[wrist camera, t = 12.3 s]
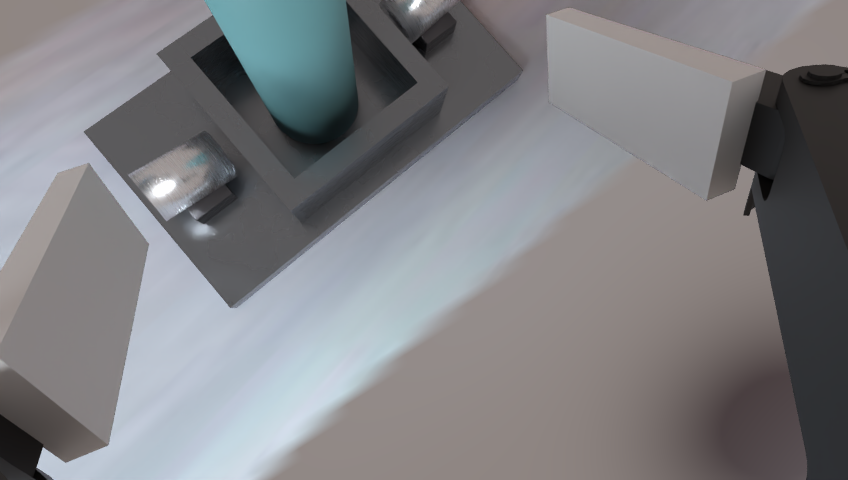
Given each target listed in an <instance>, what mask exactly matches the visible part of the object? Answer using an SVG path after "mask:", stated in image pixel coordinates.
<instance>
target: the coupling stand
mask: <svg viewBox="0 0 848 480" xmlns="http://www.w3.org/2000/svg"><path fill="white" fill-rule="evenodd" d="M346 6H347V14H348V22H349V30H350V38H351V46H352V54H353V62H354V69H355V77H356V85H357V93H358V111H357V114H356V117H355V120H354V122H353V123H352V125H351V126H350V127H349V129H348V130H347V131H346V132H345V133H344V134H342V135H341V136H339V137H338V138H336V139H334V140H332V141H329V142H326V143H321V144H308V143H302V142H299V141H296V140H294V139H292V138H290V137H289V136H287V135H286V134H285V133H283V132H282V131H281V130H280V129H279V127H278V126H277V125H276V123H275V122H274V120H273V118H272V116H271V115H270V113H269V111H268V109H267V108H266V106H265V104H264V103H263V101H262V99H261V97H260V96H259V94H258V92H257V90H256V89H255V87H254V85H253V83H252V82H251V80H250V78H249V77H248V75H247V73H246V71H245V70H244V68H243V66H242V64H241V63H240V61H239V59H238V57H237V56H236V54H235V52H234V51H233V49H232V47H231V45H230V44H229V42H228V40H227V38H226V37H225V35H224V33H223V31H222V30H221V28H220V26H219V25H218V23H217V21H216V19H215V18H214V16H213V15H212V16H211V17H210V18H208V19H207V20H205V21H204V22H202V23H201V24H199V25H198V26H196V27H195V28H193V29H192V30H191V31H189V32H188V33H186V34H185V35H183V36H182V37H180V38H179V39H177V40H176V41H174V42H173V43H171V44H170V45H169V46H167V47H166V48H164V49H163V50H161V51H160V52H158V53H157V55H158V56H159V57H160V58H161V60H162V61H163V62H164V63H165V64H166V65H167V67H168V68H169V69H170V70H171V71H170V72H169V73H168V74H166V75H165V76H163V77H162V78H160V79H159V80H157V81H156V82H155V83H153V84H152V85H150V86H149V87H147V88H146V89H145V90H143V91H142V92H140V93H139V94H137V95H136V96H134V97H133V98H132V99H130V100H129V101H127V102H126V103H124V104H123V105H121V106H120V107H119V108H117V109H116V110H114V111H113V112H111V113H110V114H109V115H107V116H106V117H104V118H103V119H101V120H100V121H98V122H97V123H96V124H94V125H93V126H91V127H90V128H88V129H87V130H85V131H84V133H85V134H86V135H87V136H88V138H89V139H90V140H91V141H92V142H93V144H94V145H95V146H96V147H97V148H98V150H99V151H100V152H101V153H102V154H103V156H104V157H105V158H106V159H107V160H108V162H109V163H110V164H111V165H112V166H113V168H114V169H115V170H116V171H117V172H118V174H119V175H120V176H121V177H122V178H123V180H124V181H125V182H126V183H127V184H128V186H129V187H130V188H131V189H132V190H133V192H134V193H135V194H136V195H137V196H138V198H139V199H140V200H141V201H142V202H143V204H144V205H145V206H146V207H147V208H148V210H149V211H150V212H151V213H152V214H153V216H154V217H155V218H156V219H157V220H158V222H159V223H160V224H161V225H162V226H163V228H164V229H165V230H166V231H167V232H168V234H169V235H170V236H171V237H172V238H173V240H174V241H175V242H176V243H177V244H178V246H179V247H180V248H181V249H182V250H183V251H184V253H185V254H186V255H187V256H188V257H189V259H190V260H191V261H192V262H193V263H194V265H195V266H196V267H197V268H198V269H199V271H200V272H201V273H202V274H203V275H204V277H205V278H206V279H207V280H208V281H209V283H210V284H211V285H212V286H213V287H214V289H215V290H216V291H217V292H218V293H219V295H220V296H221V297H222V298H223V299H224V301H225V302H226V303H227V304H228V305H229V307H230V308H237V307H238V306H239V305H241V304H242V303H243V302H244V301H246V300H247V299H248V298H249V297H251V296H252V295H253V294H254V293H255V292H257V291H258V290H259V289H260V288H262V287H263V286H264V285H265V284H267V283H268V282H269V281H270V280H271V279H273V278H274V277H275V276H276V275H278V274H279V273H280V272H281V271H283V270H284V269H285V268H286V267H287V266H289V265H290V264H291V263H292V262H294V261H295V260H296V259H297V258H299V257H300V256H301V255H302V254H303V253H305V252H306V251H307V250H308V249H310V248H311V247H312V246H313V245H315V244H316V243H317V242H318V241H319V240H321V239H322V238H323V237H324V236H326V235H327V234H328V233H329V232H331V231H332V230H333V229H334V228H335V227H337V226H338V225H339V224H340V223H342V222H343V221H344V220H345V219H346V218H348V217H349V216H350V215H351V214H353V213H354V212H355V211H356V210H358V209H359V208H360V207H361V206H362V205H364V204H365V203H366V202H367V201H369V200H370V199H371V198H372V197H374V196H375V195H376V194H377V193H378V192H380V191H381V190H382V189H383V188H385V187H386V186H387V185H388V184H390V183H391V182H392V181H393V180H394V179H396V178H397V177H398V176H399V175H401V174H402V173H403V172H404V171H406V170H407V169H408V168H409V167H410V166H412V165H413V164H414V163H415V162H417V161H418V160H419V159H420V158H422V157H423V156H424V155H425V154H426V153H428V152H429V151H430V150H431V149H433V148H434V147H435V146H436V145H438V144H439V143H440V142H441V141H442V140H444V139H445V138H446V137H447V136H449V135H450V134H451V133H452V132H454V131H455V130H456V129H457V128H458V127H460V126H461V125H462V124H463V123H465V122H466V121H467V120H468V119H469V118H471V117H472V116H473V115H474V114H476V113H477V112H478V111H479V110H481V109H482V108H483V107H484V106H485V105H487V104H488V103H489V102H490V101H492V100H493V99H494V98H495V97H497V96H498V95H499V94H500V93H501V92H503V91H504V90H505V89H506V88H508V87H509V86H510V85H511V84H513V83H514V82H515V81H516V80H517V79H518V78H519V76H520V74H521V73H522V71H523V70H522V69H521V68H520V67H519V66H518V65H517V64H516V63H515V61H514V60H513V59H512V58H511V57H510V56H509V55H508V54H507V52H506V51H505V50H504V49H503V48H502V47H501V46H500V45H499V44H498V42H497V41H496V40H495V39H494V38H493V37H492V36H491V35H490V33H489V32H488V31H487V30H486V29H485V28H484V27H483V26H482V25H481V23H480V22H479V21H478V20H477V19H476V18H475V17H474V16H473V14H472V13H471V12H470V11H469V10H468V9H467V8H466V7H465V6H464V4H463V3H462V2H461V1H460V0H346Z"/></svg>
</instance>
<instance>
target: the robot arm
mask: <svg viewBox="0 0 848 480" xmlns="http://www.w3.org/2000/svg"><path fill="white" fill-rule="evenodd" d="M546 28H547V60H548V92H549V103H551V104H552V105H554V106H555V107H557V108H559V109H560V110H562V111H563V112H565V113H567V114H568V115H570V116H571V117H573V118H575V119H576V120H578V121H579V122H581V123H583V124H584V125H586V126H587V127H589V128H591V129H592V130H594V131H595V132H597V133H599V134H600V135H602V136H603V137H605V138H607V139H608V140H610V141H611V142H613V143H615V144H616V145H618V146H619V147H621V148H623V149H624V150H626V151H627V152H629V153H631V154H632V155H634V156H636V157H637V158H639V159H640V160H642V161H644V162H645V163H647V164H648V165H650V166H652V167H653V168H655V169H656V170H658V171H660V172H661V173H663V174H664V175H666V176H668V177H669V178H671V179H672V180H674V181H676V182H678V183H679V184H680V185H682V186H684V187H685V188H687V189H688V190H690V191H692V192H693V193H695V194H697V195H698V196H700V197H701V198H703V199H704V200H709V199H712V198H714V197H717V196H719V195H722V194H724V193H726V192H729V191H731V190H734V189H735V186H736V183H737V179H738V175H739V171H740V167H741V165H743V166H745V167H747V168H749V169H751V170H753V171H755V175H754V178H753V182H752V186H751V189H750V193H749V196H748V199H747V203H746V206H745V210H744V215H747V216H749V214H750V211H751V209H753V208H754V207H755V208H756V213H757V217H758V223H759V228H760V232H761V237H762V242H763V247H764V251H765V257H766V261H767V266H768V271H769V276H770V281H771V286H772V291H773V296H774V300H775V305H776V310H777V315H778V320H779V325H780V330H781V334H782V339H783V344H784V349H785V354H786V358H787V363H788V368H789V373H790V377H791V383H792V388H793V393H794V398H795V402H796V407H797V412H798V417H799V422H800V426H801V432H802V436H803V441H804V446H805V451H806V457H807V478H806V480H848V68H846V67H839V66H835V65H812V66H802V67H798V68H795V69H792V70H789V71H788V72H786V73H785V74H784V75H780V74H776V73H773V72H770V71H767V70H766V69H763V68H760V67H757V66H753V65H750V64H747V63H744V62H741V61H738V60H734V59H731V58H728V57H725V56H722V55H719V54H716V53H712V52H709V51H706V50H703V49H700V48H697V47H693V46H690V45H687V44H684V43H681V42H678V41H674V40H671V39H668V38H665V37H662V36H659V35H655V34H652V33H649V32H646V31H643V30H640V29H636V28H633V27H630V26H627V25H624V24H621V23H617V22H614V21H611V20H608V19H605V18H602V17H598V16H595V15H592V14H589V13H586V12H583V11H579V10H576V9H573V8H570V7H568V8H565V9H562V10H559V11H556V12H553V13H550V14H547V15H546ZM148 246H149V244H148V242H147V241H146V240H145V238H144V237H143V236H142V234H141V233H140V231H139V230H138V229H137V227H136V226H135V225H134V223H133V222H132V221H131V219H130V218H129V217H128V215H127V214H126V213H125V211H124V210H123V209H122V207H121V206H120V205H119V203H118V202H117V200H116V199H115V198H114V196H113V195H112V194H111V192H110V191H109V190H108V188H107V187H106V186H105V184H104V183H103V182H102V180H101V179H100V178H99V176H98V175H97V174H96V172H95V171H94V169H93V168H92V167H91V165H90V164H89V163H87V164H84V165H81V166H78V167H75V168H72V169H69V170H66V171H63V172H60V173H57V175H56V177H55V179H54V180H53V182H52V184H51V185H50V187H49V189H48V191H47V192H46V194H45V196H44V197H43V199H42V201H41V203H40V204H39V206H38V208H37V209H36V211H35V213H34V215H33V216H32V218H31V220H30V222H29V223H28V225H27V227H26V228H25V230H24V232H23V234H22V235H21V237H20V239H19V240H18V242H17V244H16V246H15V247H14V249H13V251H12V252H11V254H10V256H9V258H8V259H7V261H6V263H5V264H4V266H3V268H2V270H1V271H0V480H53V479H52V478H51V477H50V476H49V475H47V474H45V473H44V472H42V471H41V470H39V469H38V468H36V467H37V464H38V461H39V458H40V454H41V451H42V448H43V447H44V448H45V449H47V450H48V451H50V452H51V453H52V454H54V455H55V456H57V457H58V458H60V459H61V460H62V461H64V462H65V463H66V462H69V461H71V460H73V459H76V458H78V457H81V456H83V455H86V454H88V453H91V452H93V451H95V450H98V449H100V448H103V447H105V446H108V445H109V440H110V435H111V430H112V425H113V420H114V415H115V410H116V405H117V400H118V395H119V390H120V385H121V380H122V375H123V370H124V365H125V360H126V355H127V350H128V345H129V340H130V336H131V331H132V326H133V321H134V316H135V311H136V306H137V301H138V296H139V291H140V286H141V281H142V276H143V271H144V266H145V261H146V256H147V251H148Z"/></svg>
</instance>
